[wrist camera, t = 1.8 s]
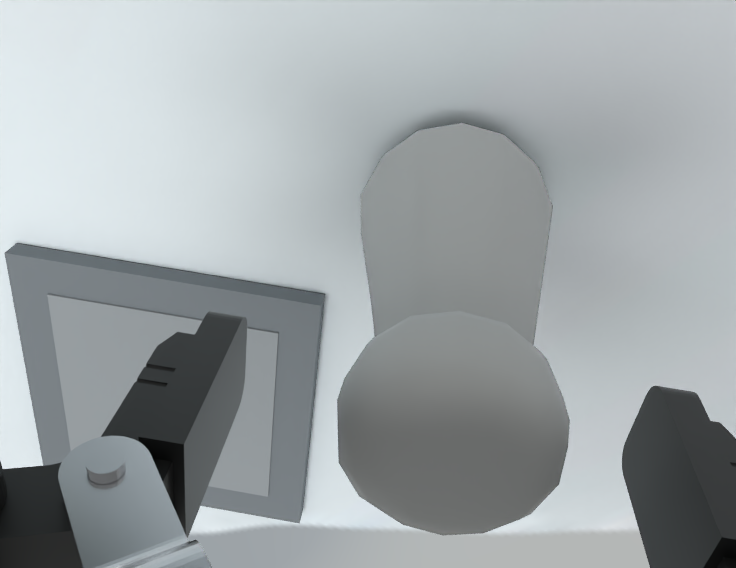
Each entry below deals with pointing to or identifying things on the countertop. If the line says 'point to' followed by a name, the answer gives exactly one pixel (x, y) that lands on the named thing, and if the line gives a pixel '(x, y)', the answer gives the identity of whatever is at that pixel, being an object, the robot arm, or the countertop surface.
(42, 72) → the countertop surface
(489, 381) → the grey rounded lobed piece
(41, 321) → the coaster
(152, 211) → the countertop surface
